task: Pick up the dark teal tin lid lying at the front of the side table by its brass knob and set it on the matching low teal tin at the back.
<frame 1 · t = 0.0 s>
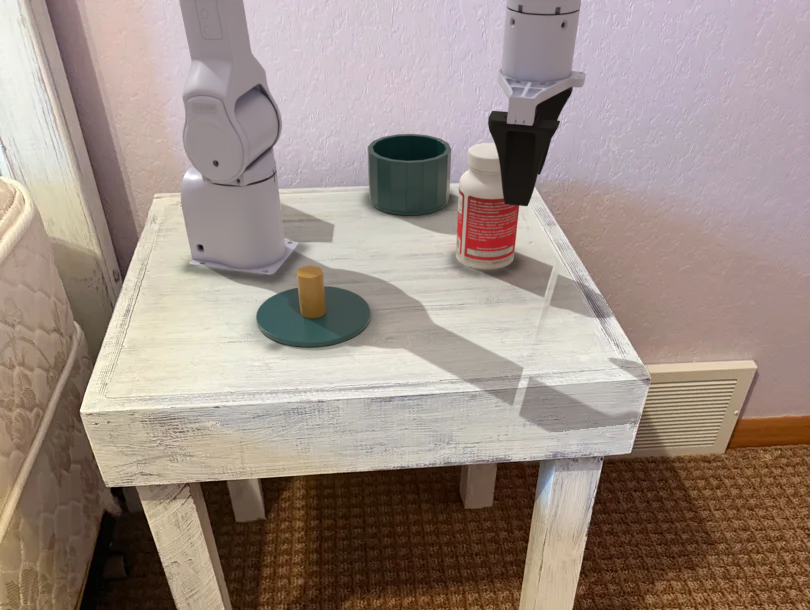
hand: (523, 187, 69), 10 cm above the table, tool pointing down, fingers open, 7 cm apart
cosmetic box: (237, 202, 92), on the table
pill bottle: (484, 262, 81), on the table
lid: (313, 317, 71), point 1 cm above the table
tin: (409, 199, 93), on the table
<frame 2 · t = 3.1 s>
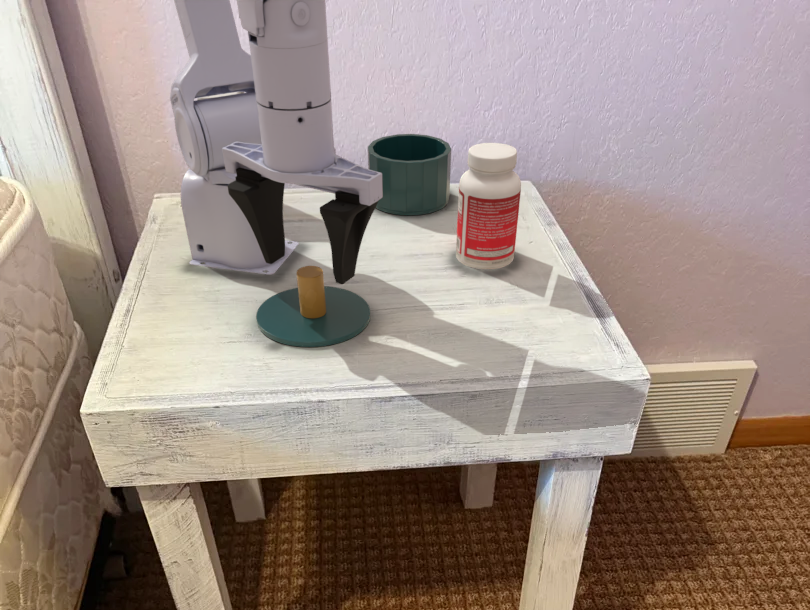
hand: (309, 269, 68), 5 cm above the table, tool pointing down, fingers open, 7 cm apart
nothing on the table moved.
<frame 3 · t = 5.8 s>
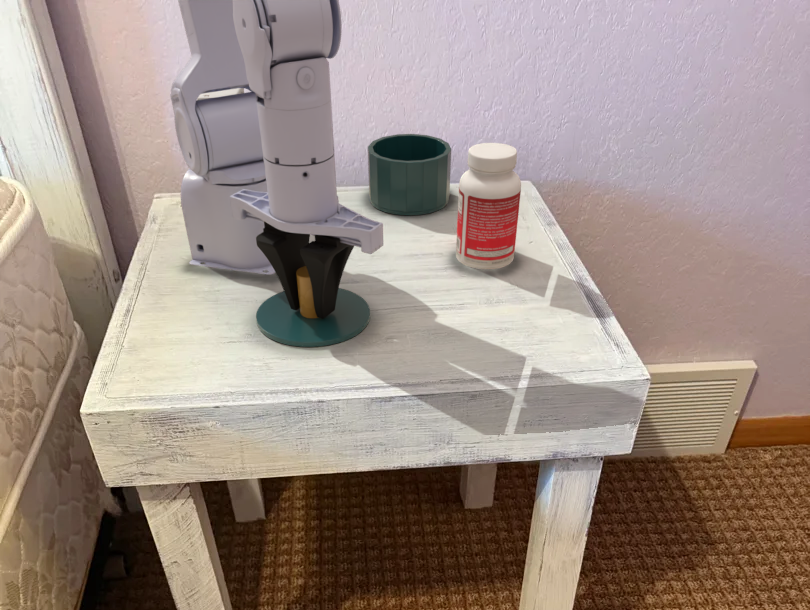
hand: (313, 309, 71), 1 cm above the table, tool pointing down, fingers closed on lid, 2 cm apart
lid: (313, 317, 71), point 1 cm above the table, touching gripper
everything else where it was.
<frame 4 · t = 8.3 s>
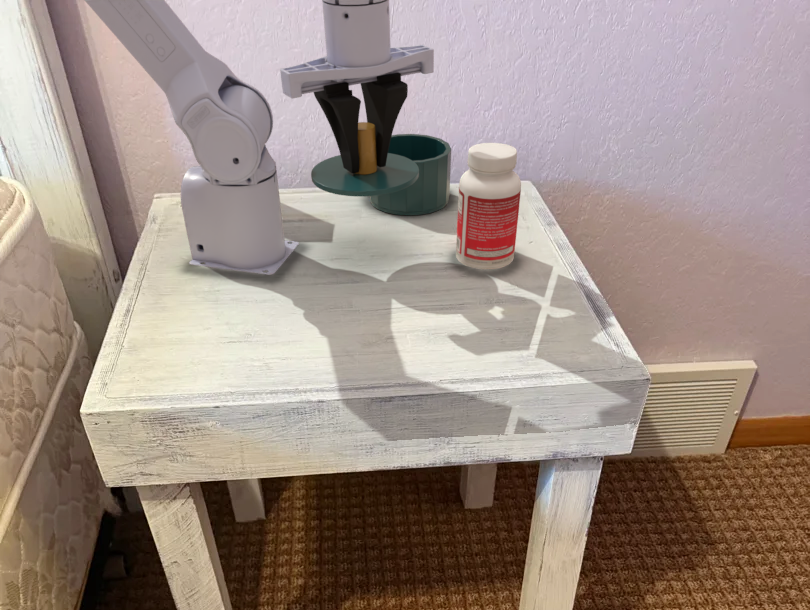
hand: (364, 166, 75), 9 cm above the table, tool pointing down, fingers closed on lid, 2 cm apart
lid: (365, 175, 75), point 9 cm above the table, touching gripper
everything else where it was.
when the fingers open (7 cm above the table, at t = 11.0 s): lid stays where it is, resting on tin.
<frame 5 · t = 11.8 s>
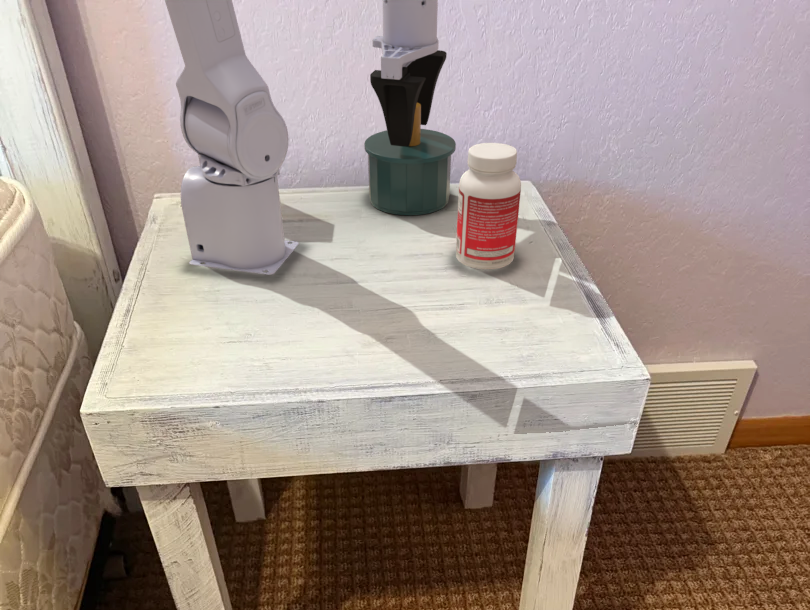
hand: (409, 134, 87), 7 cm above the table, tool pointing down, fingers open, 7 cm apart
lid: (410, 147, 88), point 6 cm above the table, touching tin
everything else where it was.
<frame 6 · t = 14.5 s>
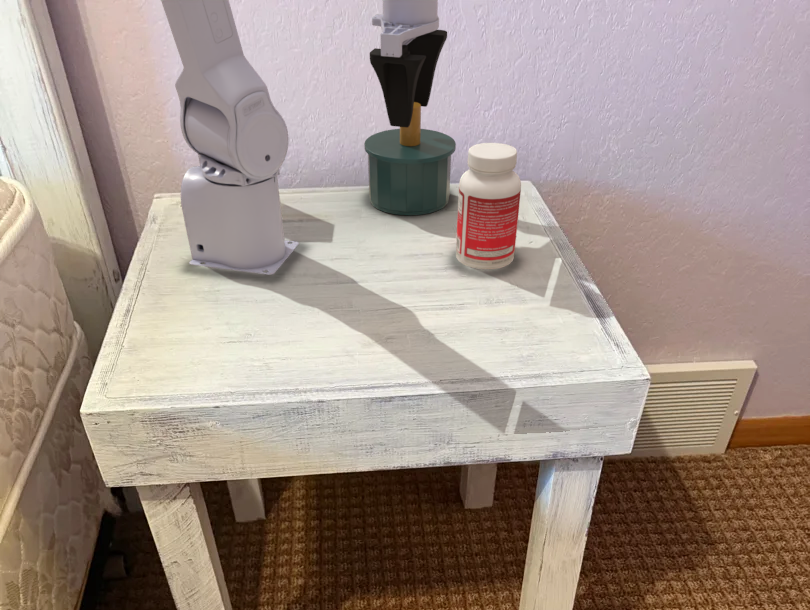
hand: (409, 115, 86), 9 cm above the table, tool pointing down, fingers open, 7 cm apart
nothing on the table moved.
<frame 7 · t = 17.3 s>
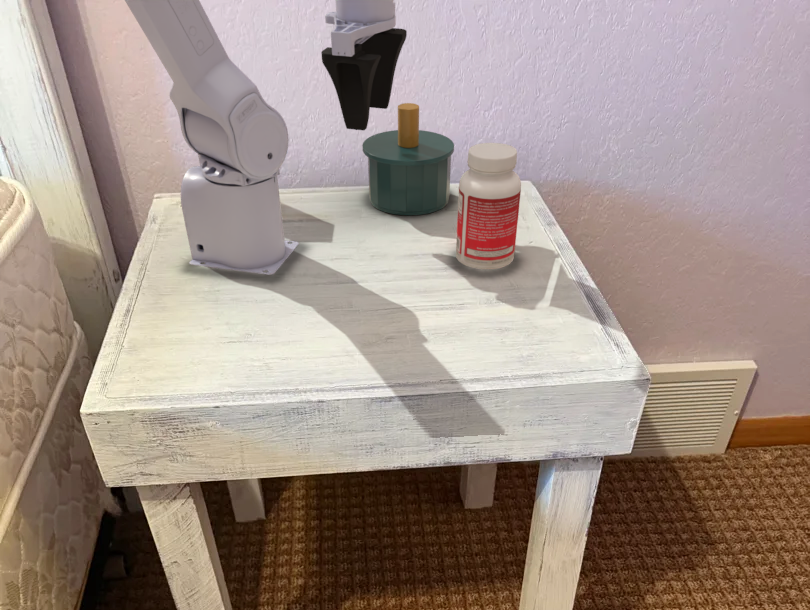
hand: (367, 117, 82), 10 cm above the table, tool pointing down, fingers open, 7 cm apart
nothing on the table moved.
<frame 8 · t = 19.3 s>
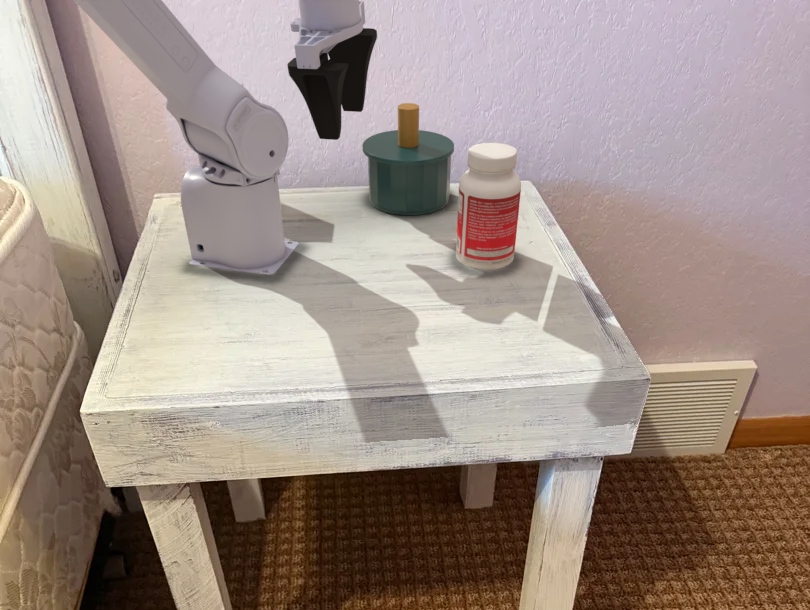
hand: (341, 123, 80), 10 cm above the table, tool pointing down, fingers open, 7 cm apart
nothing on the table moved.
at the end: lid 0.6 cm off-centre on the tin, point 5.9 cm above the tin's base; lid tilted 0° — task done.
